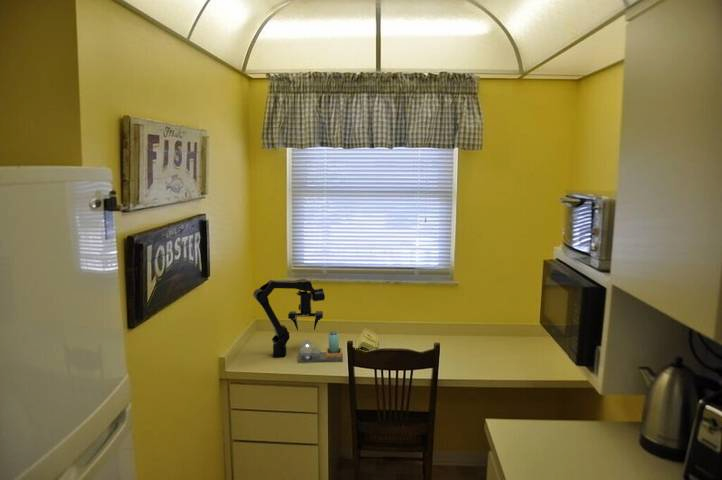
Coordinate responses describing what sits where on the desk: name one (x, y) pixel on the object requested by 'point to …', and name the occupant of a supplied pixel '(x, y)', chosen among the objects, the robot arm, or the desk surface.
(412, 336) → the desk surface
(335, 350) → the teal cylinder grey dome
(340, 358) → the motor assembly
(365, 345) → the plastic component
